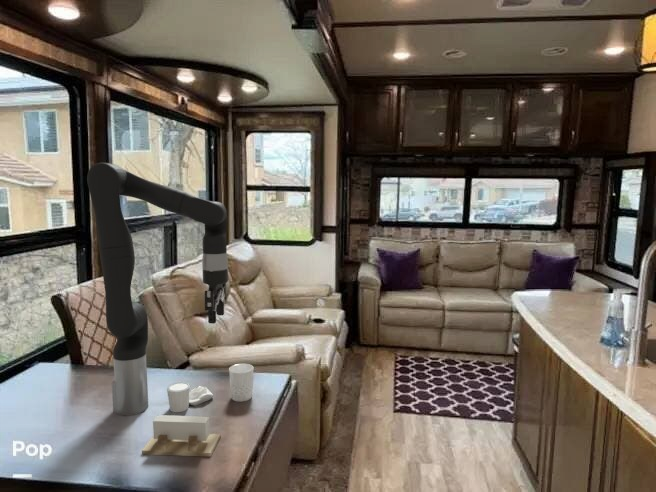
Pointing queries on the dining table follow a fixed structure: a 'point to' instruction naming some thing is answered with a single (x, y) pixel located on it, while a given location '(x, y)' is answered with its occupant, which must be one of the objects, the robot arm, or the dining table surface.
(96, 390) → the dining table surface
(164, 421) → the white rectangular block
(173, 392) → the white short tapered cylinder
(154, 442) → the rack
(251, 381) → the white cup
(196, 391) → the rose
